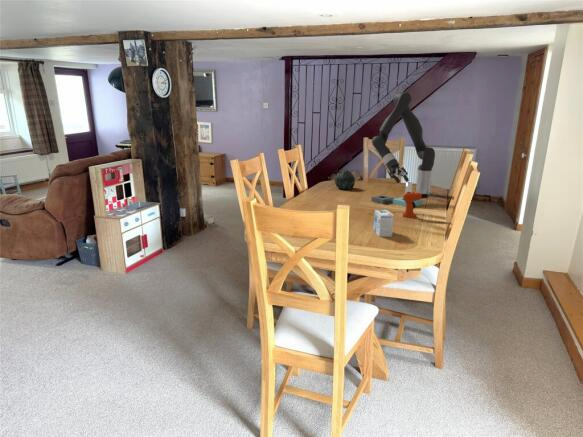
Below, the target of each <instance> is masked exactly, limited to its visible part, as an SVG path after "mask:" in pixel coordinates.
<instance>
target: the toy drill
mask: <svg viewBox="0 0 583 437" xmlns="http://www.w3.org/2000/svg"><path fill="white" fill-rule="evenodd" d="M437 196H438V194H429V195H427V194H421V193H418V192H416V191H415V192H413V191H412V193H411V192H407V193H405V192H404V194H403V195H402V197H403V200H404V201H405V202H406V207H405V211H404V212H402V218H405V217H406V218H408V219H416V218H417V217H418V215H417V214H415V213H414V210H415V208H417V206H416V205H415V203H414V201H417V200H423V199H428V197H430V198H431V197H437ZM406 218H405V219H406Z"/></svg>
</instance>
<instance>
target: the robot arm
mask: <svg viewBox="0 0 583 437" xmlns="http://www.w3.org/2000/svg"><path fill="white" fill-rule="evenodd" d="M392 100H393V104H394V106H395V107H394V109H393V110H392V111H391V113H390V114H389V115H388V116H387V117H386V118H385V120H384V121H383V122H382V125H381V126H380V128H379V130H378V131H379V135H375V136H373V137H372V139H371V144H372V145H373V147H374V148H375V150H376V151H377V153H378V154H379V156H380V158H381V159H382V162H383V163H384V165H385V166H386V168H387V169H388V170H387V174H388V176H389V178H390V179H393V180H394V181H395V182H396V183H397V184H400V183H401V180H400V178H399V177H398V176H400V177H402V178H403V180H404V181H405V183H406V182H410V179H409V178H408V175H409V174H408V172H407V170H406V168H404V167H400V163H399V161H398V160H397V158H396V157H395V155H394V154H393V153H392V151H391V149H390V148H389V147H388V146H387V145H386V143H387V141H388V138H389V136H390V133H391V132H392V130H393V129H394V126H395V125H396V123H397V121H398V120H399V118H400V117H401V119H402V121H403V123H404V126H405V128H406V131H407V132H408V134H409V136H410V139H411V141H412V143H413V146H414V150H415V151H416V155H417V157H418V158H419V159H420V160H422V161H421V164H419V165H418V168H417V178H416V187H415V188H416V189H415V193H416V192H418V193H421V194H427V195H431V188H432V172H433V167H434V164H435V157H436V152H435V149H434V148H433V147H430V146H427V145H426V144H425V141H424V139H423V138H424V136H423V132H424V131H423V128H422V127H423V126H422V125H421V121H420V120H419V118H418V117H417V116H416V115H415V114H414V112H413V111H412V110H411V109H410V106H409V105H410V104H411V102H412V95H411V93H409V92H407V91H398V92H396V93H395V94H394V95H393V99H392Z"/></svg>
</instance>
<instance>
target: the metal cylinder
mask: <svg viewBox="0 0 583 437" xmlns="http://www.w3.org/2000/svg"><path fill="white" fill-rule="evenodd" d="M407 192H411V193H413V182H412V181H408V182H406V181H405V189H404V194H405V193H407Z"/></svg>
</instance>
